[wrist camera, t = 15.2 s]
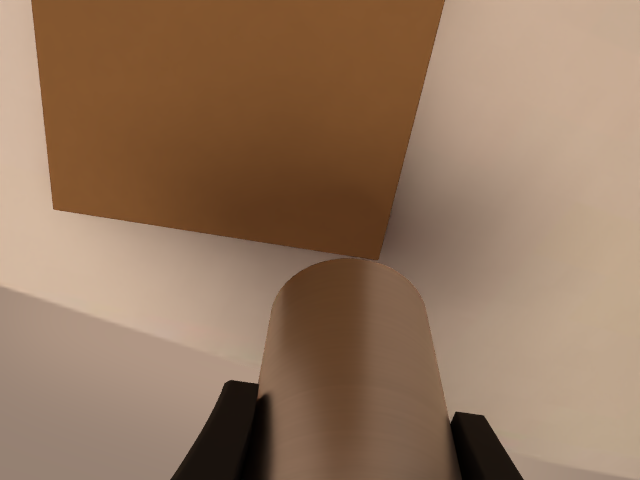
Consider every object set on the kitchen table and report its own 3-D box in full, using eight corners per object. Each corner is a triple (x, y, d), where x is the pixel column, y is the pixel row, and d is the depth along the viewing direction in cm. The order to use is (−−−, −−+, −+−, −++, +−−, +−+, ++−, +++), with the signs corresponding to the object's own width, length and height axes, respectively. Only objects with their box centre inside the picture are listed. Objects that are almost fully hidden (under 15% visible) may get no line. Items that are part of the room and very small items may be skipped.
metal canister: (405, 387, 16) (440, 645, 10) (263, 367, 16) (219, 619, 10) (445, 270, 14) (516, 517, 8) (280, 245, 13) (236, 481, 8)
